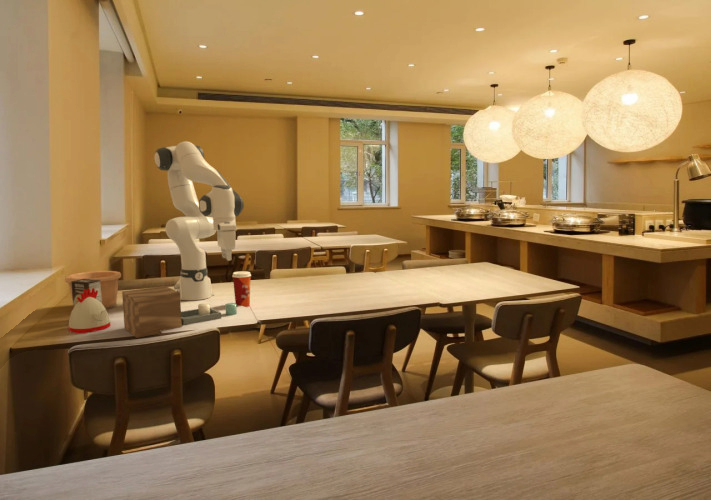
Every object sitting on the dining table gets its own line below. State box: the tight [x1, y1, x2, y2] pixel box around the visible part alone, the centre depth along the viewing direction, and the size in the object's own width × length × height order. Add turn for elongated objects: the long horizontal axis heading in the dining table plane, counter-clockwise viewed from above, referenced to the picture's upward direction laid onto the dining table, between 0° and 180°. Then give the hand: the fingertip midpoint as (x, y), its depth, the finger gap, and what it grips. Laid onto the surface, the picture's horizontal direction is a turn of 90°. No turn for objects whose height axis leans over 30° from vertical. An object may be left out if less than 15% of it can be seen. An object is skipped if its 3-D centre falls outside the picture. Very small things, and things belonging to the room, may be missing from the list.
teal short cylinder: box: [224, 302, 238, 316], centre depth 202 cm, size 4×4×5 cm
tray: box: [181, 307, 222, 326], centre depth 195 cm, size 12×15×3 cm
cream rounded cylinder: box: [197, 303, 211, 316], centre depth 197 cm, size 4×4×5 cm
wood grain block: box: [121, 285, 183, 339], centre depth 184 cm, size 16×16×14 cm
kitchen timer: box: [68, 288, 111, 334], centre depth 186 cm, size 14×14×15 cm
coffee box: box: [71, 279, 102, 308], centre depth 197 cm, size 9×6×16 cm
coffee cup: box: [231, 270, 252, 308], centre depth 219 cm, size 8×8×15 cm
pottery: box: [64, 270, 122, 310], centre depth 219 cm, size 22×22×14 cm
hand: (226, 259), depth 201 cm, fingers open, 8 cm apart
